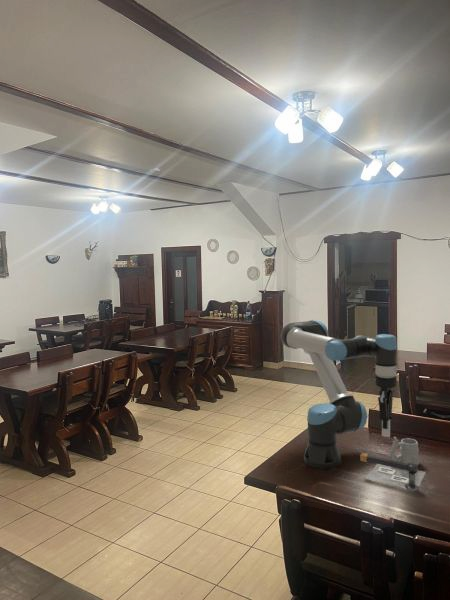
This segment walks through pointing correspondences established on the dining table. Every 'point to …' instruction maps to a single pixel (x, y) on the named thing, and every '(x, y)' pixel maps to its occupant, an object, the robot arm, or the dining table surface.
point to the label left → (386, 471)
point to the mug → (405, 451)
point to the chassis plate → (386, 477)
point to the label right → (400, 479)
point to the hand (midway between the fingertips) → (385, 435)
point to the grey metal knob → (412, 483)
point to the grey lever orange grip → (389, 463)
